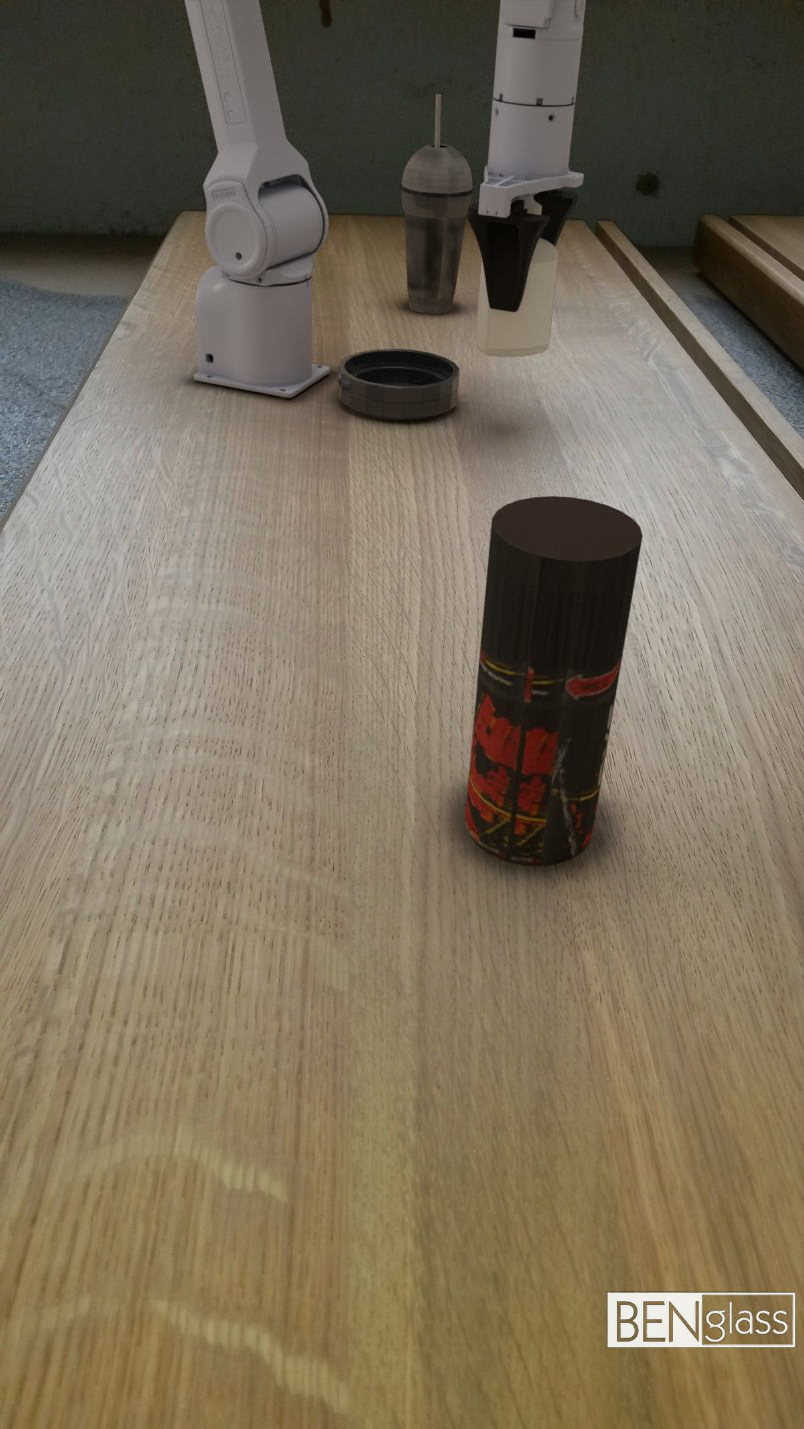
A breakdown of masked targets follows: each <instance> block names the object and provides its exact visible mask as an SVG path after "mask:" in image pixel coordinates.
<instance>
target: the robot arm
mask: <svg viewBox="0 0 804 1429" xmlns="http://www.w3.org/2000/svg"><path fill="white" fill-rule="evenodd" d="M586 1H587V0H500V1H499V2H500V3H499V4H500V5H499V18H498V24H497V26H498V27H497V37H496V38H497V39H496V52H495V65H494V78H493V90H492V102H491V117H490V132H489V141H488V142H489V144H488V157H487V164H486V165H485V166H484V172H483V182H482V183H480V185H479V186H480V187H479V198H478V199H479V200H478V201H476V202H474V203H472V204H470V206H469V207H468V213H467V221H468V224H469V226H470V228H471V229H472V232H473V234H474V237H475V239H476V242H477V245H478V248H479V253H480V256H481V262H482V261H483V268H484V274H485V282H486V289H487V296H488V302H489V306H490V308H491V309H496V310H502V311H509V312H516V311H518V309H519V307H520V304H521V301H522V298H523V295H524V290H525V286H526V281H527V276H528V272H529V267H530V263H531V260H532V257H533V253H534V251H535V248H536V245H537V242H538V240H539V238H542V239H544V240H546V241H548V242H550V243H551V244H552V245H554V247H555V248H556V246H557V243H558V241H559V238H560V236H561V233H562V231H563V229H564V227H565V225H566V223H567V221H568V219H569V218H570V215H571V214H572V212H573V210H574V209H575V207H576V206H577V205H578V200H579V194H578V193H577V192H573V191H569V190H559V189H561V188H579V187H580V186H582V185H583V184H584V177H585V174H584V173H582V172H576V171H571V170H570V168H569V162H570V155H571V154H570V153H571V144H572V134H573V126H574V116H575V107H576V100H577V99H576V98H577V90H578V80H579V72H580V65H581V64H580V62H581V54H582V45H583V37H584V21H585V13H586V12H585V11H586V5H587V4H586V3H587V2H586ZM184 4H185V9H186V13H187V17H188V22H189V28H190V31H191V35H192V41H193V45H194V49H195V54H196V58H197V63H198V67H199V71H200V76H201V81H202V85H203V89H204V93H205V94H204V95H205V98H206V102H207V108H208V112H209V117H210V121H211V125H212V128H213V135H214V139H215V143H216V148H217V155H216V157H215V160H214V161H213V164H212V165H211V168H210V169H209V171H208V174H207V175H206V178H205V180H204V181H203V184H202V187H203V192H204V195H205V202H206V215H205V223H204V238H205V243H206V246H207V250H208V252H209V254H210V256H211V258H212V260H213V261H214V263H215V265H214V266H211V267H209V268H207V269H206V270H205V272H204V273H203V274H202V276H201V277H200V279H199V281H198V284H197V288H196V292H195V300H194V315H195V316H194V317H195V337H196V356H197V358H196V359H197V372H195V373H194V374H193V380H194V381H197V382H201V383H206V384H213V385H218V386H222V387H229V388H232V389H233V388H234V389H239V390H245V391H249V392H255V393H259V394H266V395H272V396H277V397H281V398H288V399H290V398H294V397H295V396H296V395H298V394H300V393H301V392H302V391H304V390H306V389H307V388H309V387H310V386H311V385H313V384H315V383H316V382H318V381H319V380H321V379H322V378H324V377H325V376H327V375H329V374H330V373H331V368H330V366H327V365H322V364H316V363H313V269H315V255H316V254H318V252H319V251H320V250H321V249H322V248H323V246H324V245H325V242H326V240H327V238H328V234H329V227H330V225H329V224H330V223H329V222H330V221H329V213H328V211H327V207H326V204H325V202H324V200H323V197H322V196H321V195H320V193H319V192H318V190H317V188H316V187H315V185H314V181H313V180H312V177H311V172H310V167H309V163H308V161H307V159H306V158H304V156H303V155H302V154H301V153H300V152H299V151H298V150H297V149H296V148H295V147H294V145H292V144H291V143H290V141H289V140H288V139H287V135H286V130H285V126H284V120H283V115H282V110H281V106H280V100H279V95H278V91H277V86H276V80H275V75H274V71H273V65H272V60H271V56H270V50H269V46H268V41H267V40H268V39H267V36H266V30H265V25H264V20H263V15H262V11H261V6H260V0H184ZM532 195H533V199H534V200H535V202H537V203H539V204H540V205H541V206H542V210H541V215H537V214H530V213H527V211H528V209H527V208H525V209H524V203H525V200H527V199H528V197H527V196H532Z"/></svg>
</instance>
